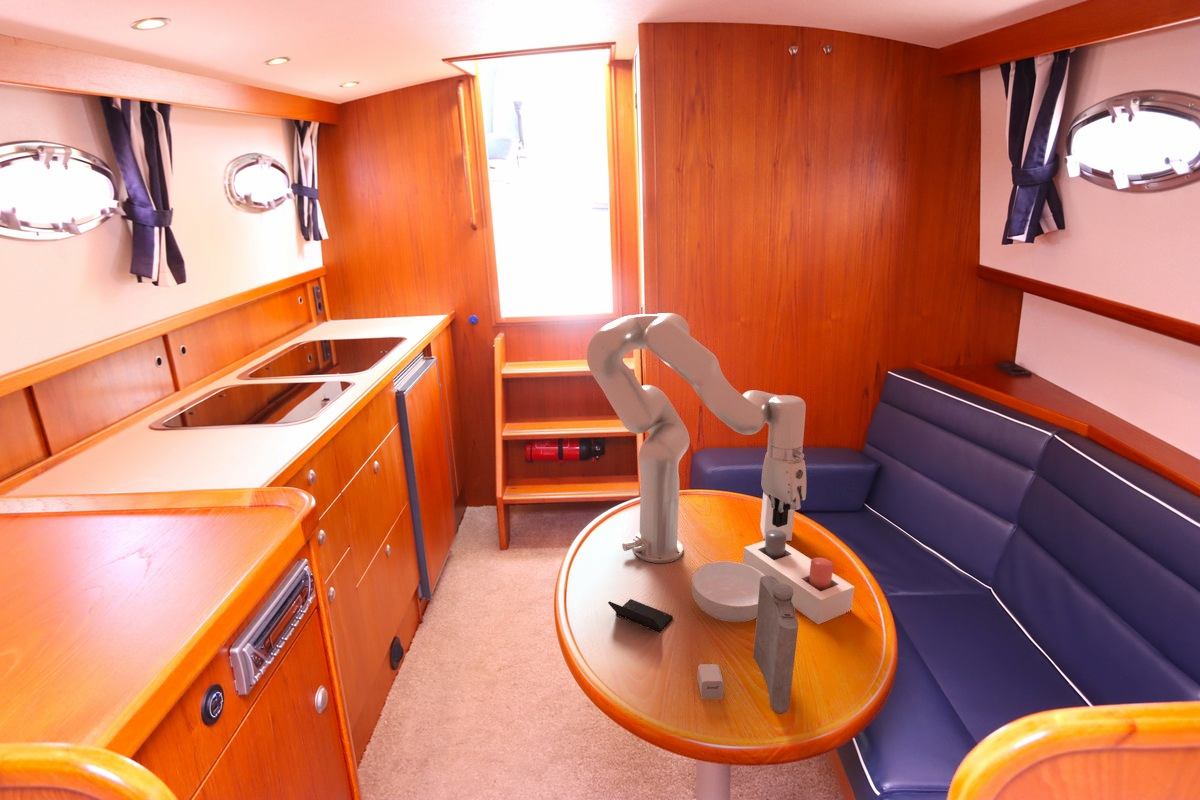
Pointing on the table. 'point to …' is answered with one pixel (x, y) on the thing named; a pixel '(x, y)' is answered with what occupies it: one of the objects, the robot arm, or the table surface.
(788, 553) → the box
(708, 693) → the usb wall charger
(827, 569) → the red plunger
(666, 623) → the handheld gaming console
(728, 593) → the cereal bowl
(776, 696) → the hip flask
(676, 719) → the table surface
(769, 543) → the grey rounded cylinder
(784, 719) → the table surface
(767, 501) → the milk carton
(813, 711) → the table surface
